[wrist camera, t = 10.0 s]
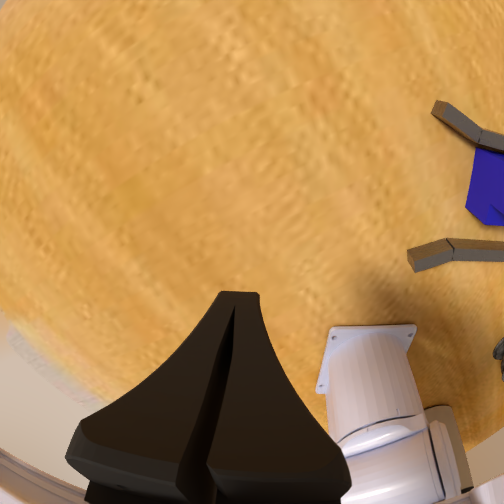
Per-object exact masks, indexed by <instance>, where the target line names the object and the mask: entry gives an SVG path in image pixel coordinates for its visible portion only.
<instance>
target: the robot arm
mask: <svg viewBox="0 0 504 504" xmlns="http://www.w3.org/2000/svg"><path fill="white" fill-rule="evenodd" d="M416 331H417V327H416V325H415V324H407V325H383V326H336V327H332V328H331V329H330V331H329V335H328V339H327V344H326V348H325V352H324V356H323V361H322V365H321V369H320V373H319V377H318V381H317V385H316V388H315V390H316V393H318V394H325V395H326V406H327V417H328V429H329V435H328V434H327V433H326V432H325V430H324V429H323V428H322V427H321V426H320V424H319V423H318V422H317V421H316V419H315V418H314V417H313V416H312V414H311V413H310V411H309V410H308V409H307V407H306V406H305V404H304V403H303V401H302V400H301V398H300V397H299V396H298V394H297V393H296V391H295V389H294V388H293V386H292V384H291V383H290V381H289V379H288V378H287V376H286V374H285V372H284V370H283V368H282V366H281V364H280V362H279V360H278V358H277V356H276V354H275V351H274V349H273V347H272V344H271V342H270V339H269V336H268V333H267V330H266V327H265V324H264V321H263V317H262V313H261V308H260V295H259V294H258V293H257V292H236V291H221V292H219V293H218V295H217V297H216V298H215V300H214V302H213V303H212V305H211V306H210V308H209V309H208V311H207V312H206V314H205V315H204V316H203V318H202V319H201V320H200V322H199V323H198V324H197V326H196V327H195V328H194V330H193V331H192V332H191V333H190V335H189V336H188V337H187V338H186V339H185V340H184V342H183V343H182V344H181V345H180V346H179V347H178V349H177V350H176V351H175V352H174V353H173V354H172V355H171V356H170V357H169V358H168V359H167V360H166V361H165V362H164V363H163V364H162V365H161V366H160V367H159V368H158V369H156V370H155V371H154V372H153V373H152V374H151V375H149V376H148V377H147V378H146V379H145V380H144V381H142V382H141V383H140V384H139V385H137V386H136V387H135V388H133V389H132V390H130V391H129V392H127V393H126V394H125V395H123V396H122V397H120V398H119V399H117V400H116V401H114V402H113V403H111V404H110V405H108V406H106V407H104V408H103V409H101V410H99V411H97V412H95V413H94V414H92V415H90V416H88V417H86V418H84V419H82V420H81V421H80V423H79V425H78V426H77V428H76V430H75V432H74V435H73V437H72V439H71V442H70V445H69V447H68V450H67V452H66V455H65V459H66V460H67V462H68V464H69V465H70V466H72V467H73V468H74V469H75V470H76V471H78V472H79V473H80V474H82V475H83V476H84V477H86V478H87V479H89V480H90V482H89V485H88V488H87V490H84V489H82V488H79V487H77V486H74V485H72V484H69V483H67V482H65V481H62V480H60V479H58V478H56V477H54V476H51V475H49V474H47V473H45V472H43V471H41V470H39V469H37V468H35V467H33V466H31V465H29V464H27V463H25V462H24V461H22V460H20V459H18V458H17V457H15V456H13V455H11V454H10V453H8V452H6V451H5V450H3V449H1V448H0V504H504V473H503V474H501V475H499V476H497V477H494V478H492V479H490V480H488V481H486V482H483V483H482V484H480V485H478V486H476V487H475V488H473V489H472V490H471V491H469V492H467V493H464V494H461V489H460V487H461V482H460V477H459V472H458V468H457V464H456V460H455V456H454V452H453V448H452V445H451V441H450V438H449V434H448V431H447V428H446V425H445V424H443V423H441V422H440V423H439V422H438V421H437V420H435V421H433V422H431V423H430V425H429V423H428V421H427V419H426V416H425V413H424V409H423V406H422V402H421V399H420V396H419V392H418V389H417V386H416V383H415V380H414V377H413V374H412V370H411V367H410V365H409V362H408V359H407V356H406V353H407V351H408V349H409V347H410V345H411V342H412V340H413V338H414V336H415V334H416ZM333 336H335V337H333Z"/></svg>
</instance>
